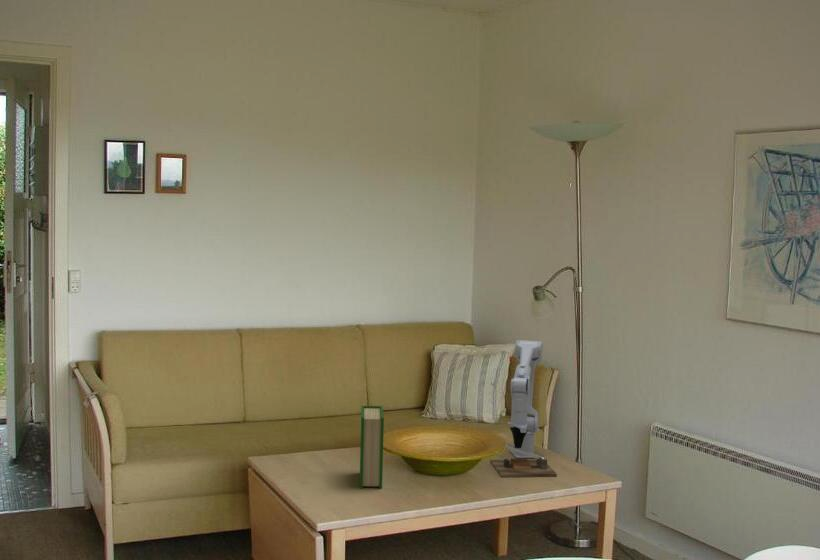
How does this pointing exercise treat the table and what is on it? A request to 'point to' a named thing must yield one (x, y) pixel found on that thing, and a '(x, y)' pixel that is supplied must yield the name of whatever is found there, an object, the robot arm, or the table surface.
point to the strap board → (523, 468)
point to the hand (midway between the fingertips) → (518, 447)
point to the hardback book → (371, 446)
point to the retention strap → (524, 452)
